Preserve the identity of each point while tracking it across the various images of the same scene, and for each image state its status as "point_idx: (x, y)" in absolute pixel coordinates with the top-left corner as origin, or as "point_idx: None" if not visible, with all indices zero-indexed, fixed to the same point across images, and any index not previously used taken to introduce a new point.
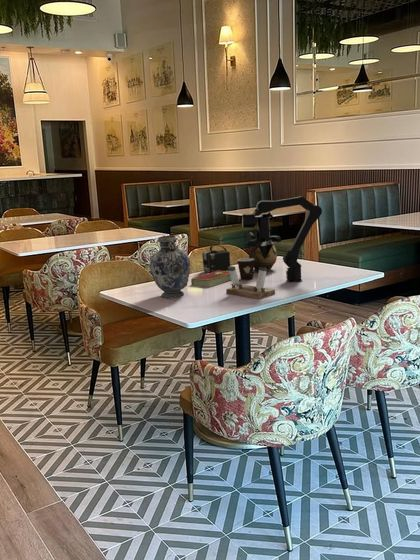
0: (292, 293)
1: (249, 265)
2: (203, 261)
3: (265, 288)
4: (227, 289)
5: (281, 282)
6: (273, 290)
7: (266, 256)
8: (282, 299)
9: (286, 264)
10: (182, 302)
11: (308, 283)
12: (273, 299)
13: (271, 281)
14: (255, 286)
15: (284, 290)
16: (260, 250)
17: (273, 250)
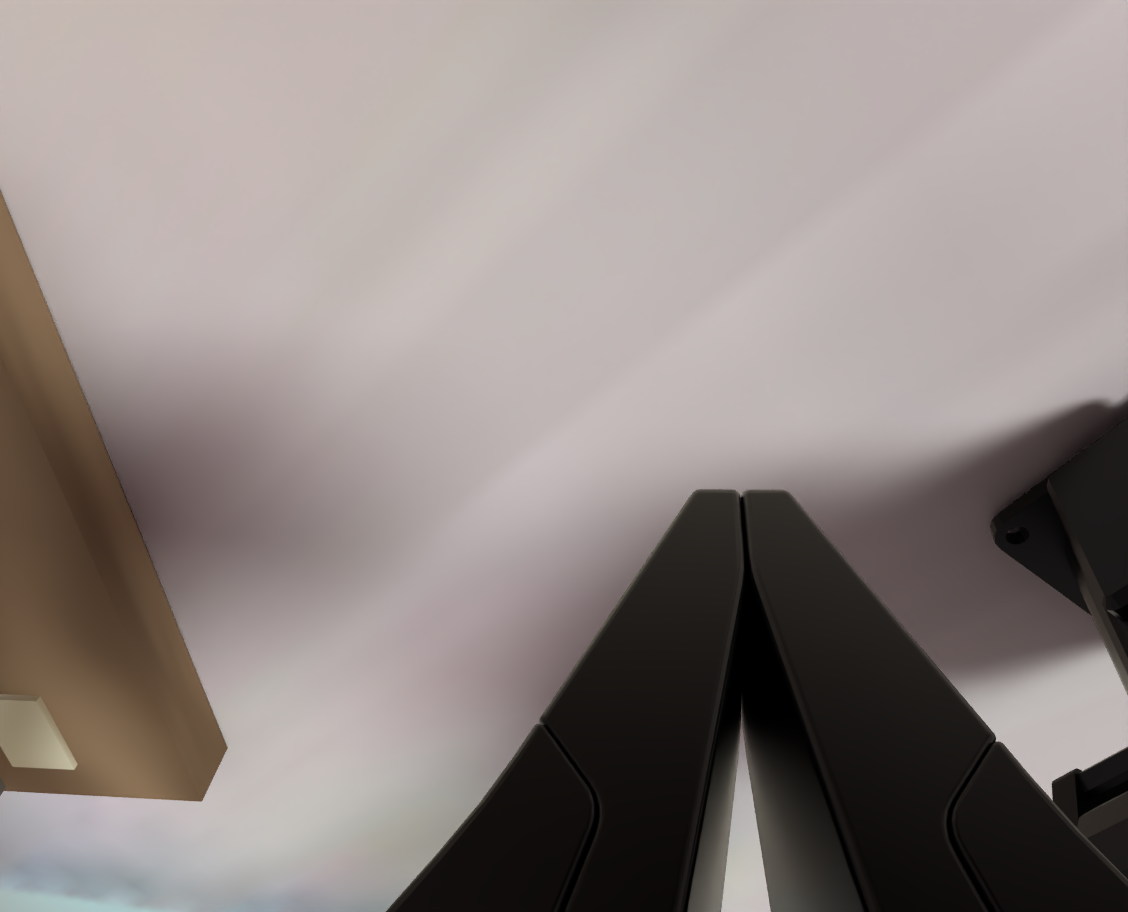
0: (408, 865)
1: None
2: None
3: (128, 685)
4: None
5: (909, 403)
6: (176, 794)
7: (742, 695)
8: (151, 898)
9: (1083, 831)
10: None
11: (1034, 779)
12: (69, 843)
13: (903, 141)
14: (60, 486)
15: (451, 741)
16: (443, 847)
17: None
